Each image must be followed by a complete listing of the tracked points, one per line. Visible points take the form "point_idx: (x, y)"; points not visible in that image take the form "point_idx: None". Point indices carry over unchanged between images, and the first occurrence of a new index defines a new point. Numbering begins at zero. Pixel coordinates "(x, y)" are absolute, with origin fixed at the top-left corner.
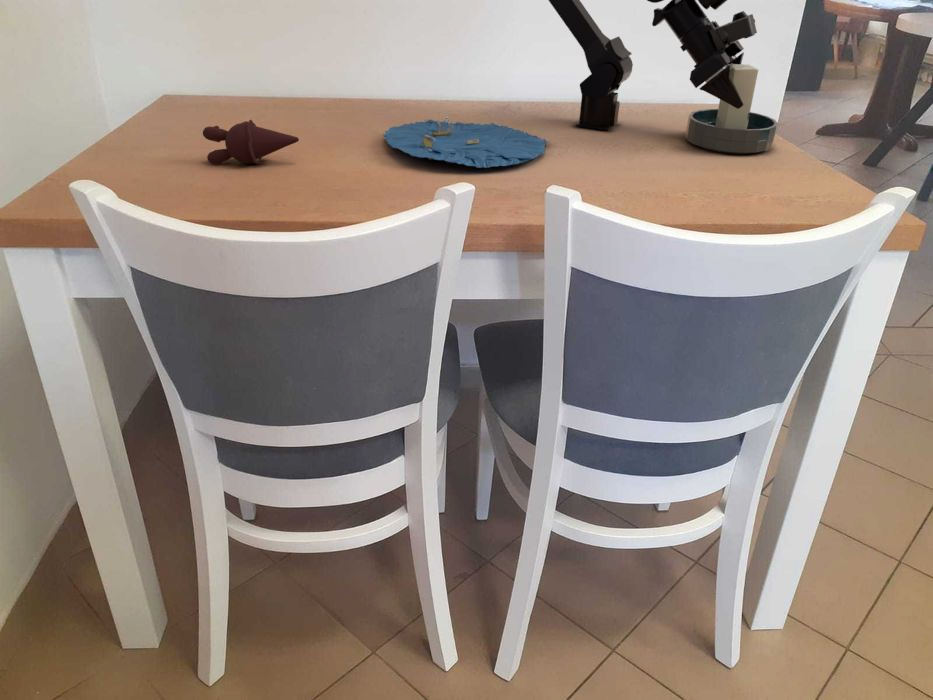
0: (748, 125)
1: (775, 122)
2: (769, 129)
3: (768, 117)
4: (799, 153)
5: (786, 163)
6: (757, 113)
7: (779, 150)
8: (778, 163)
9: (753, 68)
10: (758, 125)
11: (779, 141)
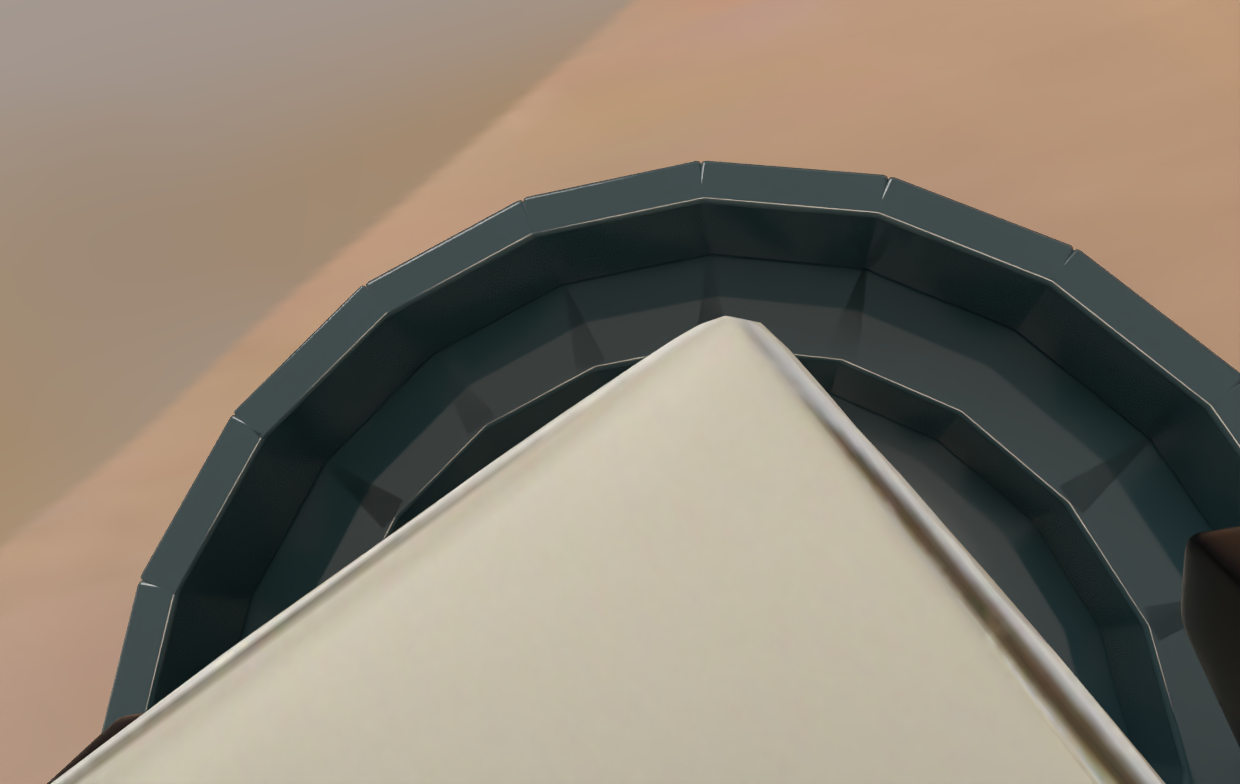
0: None
1: (512, 231)
2: (897, 184)
3: (288, 392)
4: (579, 57)
5: (1016, 32)
6: (140, 590)
7: None
8: (1076, 84)
9: (762, 534)
10: (286, 532)
11: (263, 333)
